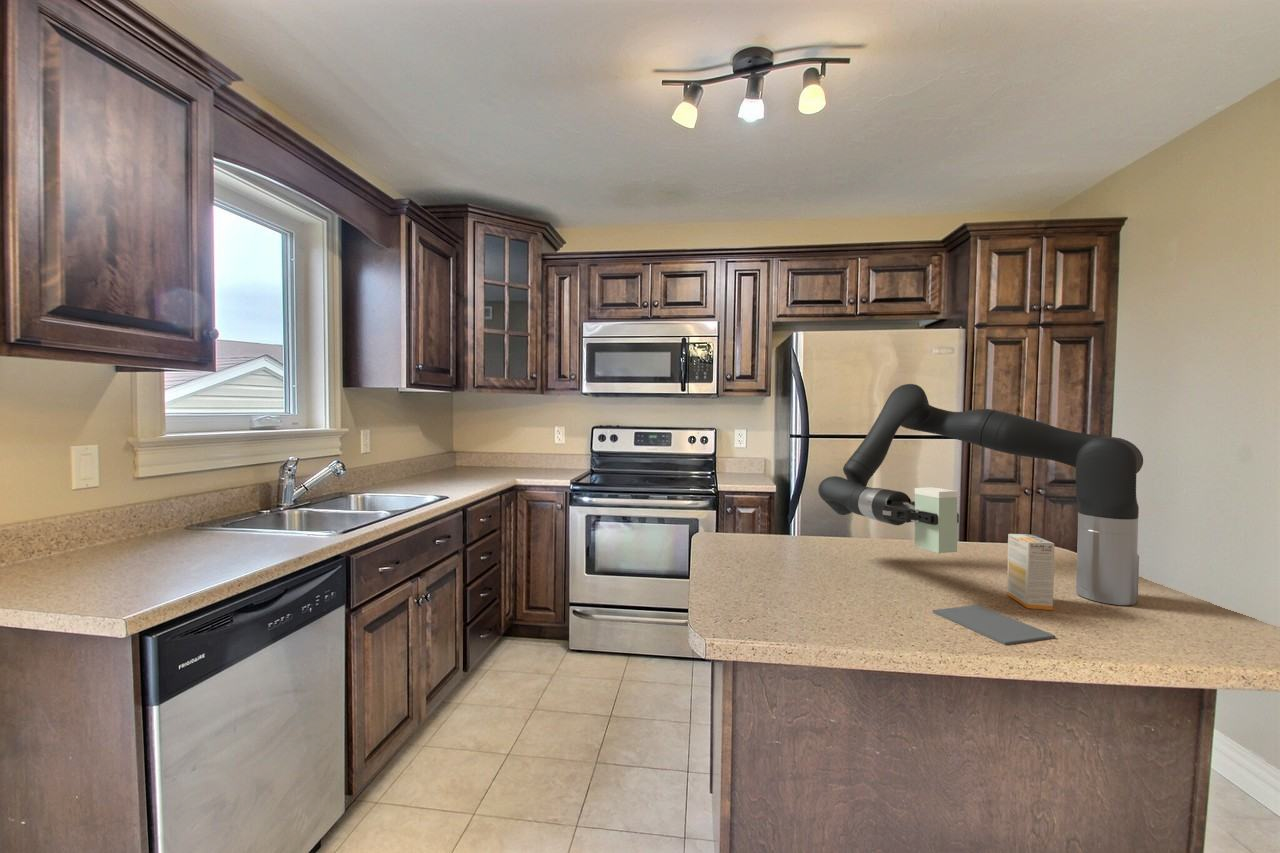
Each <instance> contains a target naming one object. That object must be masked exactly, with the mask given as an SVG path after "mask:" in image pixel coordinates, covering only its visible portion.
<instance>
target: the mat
mask: <svg viewBox="0 0 1280 853" xmlns="http://www.w3.org/2000/svg"><path fill="white" fill-rule="evenodd" d="M932 613H933V614H936V615H938V616H940V617H943V618H945V619H947V620H949V621H951V622H954V623H956V624H958V625H960V626H963V627H964V626H965V627H964V628H966V627H967V629H968V630H971V631H974V632H976V633H977V632H978V634H980V635H982V636H983V637H984V636H985V637H987V638H988V639H990V640H993V641H995V642H997V643H999V644H1002V645H1003V646H1005V645H1007V646H1008V645H1014V644H1021V643H1022V644H1023V643H1027V642H1028V643H1029V642H1034V641H1041V640H1048V639H1049V640H1050V639H1055V638H1056V635H1055V634H1053V633H1050V632H1047V631H1045V630H1042V629H1040V628H1038V627H1035V626H1032V625H1030V624H1028V623H1025V622H1022V621H1020V620H1017V619H1014V618H1012V617H1010V616H1007V615H1005V614H1003V613H999V612H997V611H995V610H992V609H989V608H987V607H985V606H982V605H979V604H975V605H966V606H956V607H948V608H939V609H932Z"/></svg>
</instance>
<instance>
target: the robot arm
mask: <svg viewBox="0 0 1280 853" xmlns="http://www.w3.org/2000/svg"><path fill="white" fill-rule="evenodd" d="M900 427H902V428H905V429H908V430H913V431H916V432H923V433H929V434H934V435H939V436H944V437H948V438H950V439H954V440H958V441H962V442H966V443H970V444H973V445H976V446H979V447H982V448H985V449H989V450H991V451H992V450H993V451H996V452H1000V453H1003V454H1004V453H1005V454H1008V455H1015V456H1020V457H1026V458H1034V459H1043V460H1048V461H1053V462H1057V463H1061V464H1062V465H1063V464H1064V465H1067V466H1070V467H1073V468H1075V497H1076V502H1077V507H1078V508H1077V511H1078V512H1077V541H1076V542H1077V546H1076V547H1077V548H1076V550H1077V551H1076V576H1075V577H1076V581H1075V582H1076V583H1075V584H1076V586H1075V592H1076V594H1077V595H1078V596H1080V597H1082V598H1085V599H1088V600H1091V601H1095V602H1099V603H1104V604H1109V605H1116V606H1133V605H1136V602H1137V601H1139V576H1140V575H1139V574H1140V569H1139V568H1140V554H1138V546H1139V544H1138V543H1139V542H1138V539H1139V536H1138V535H1139V533H1138V532H1139V510H1140V509H1139V508H1140V507H1139V504H1138V498H1137V474H1138V473H1139V472H1140V471H1141V469H1142V467H1143V465H1144V457H1143V456H1144V455H1143V453H1142V451H1141V450H1140V449H1139V448H1138V446H1137V445H1135V444H1134V443H1132V442H1131V441H1128V440H1126V439H1124V438H1122V437H1114V436H1105V435H1103V436H1102V435H1097V434H1091V433H1084V432H1080V431H1079V432H1078V431H1072V430H1069V429H1068V430H1067V429H1063V428H1060V427H1056V426H1053V425H1051V424H1048V423H1044V422H1041V421H1038V420H1035V419H1032V418H1027V417H1024V416H1021V415H1016V414H1014V413H1009V412H1005V411H1000V410H996V409H991V408H977V409H970V410H964V411H951V410H946V409H942V408H939V407H936V406H932V405H931V404H930V403H929V400H928V397H927V394H926V392H925V390H924V389H923V388H922V386H920V385H917V384H914V383H907V384H906V383H905V384H901V385H899V386H898V387H896V388H894V390H893V391H892V392H891V393H890V395H889V396H888V398H887V399H886V401H885V403H884V405H883V408H882V409H881V411H880V413H879V414H878V416H877V418H876V419H875V422H874V423H873V425H872V427H871V428H870V430H869V432H868V433H867V434H866V436H865V438H864V439H863V440H862V442H861V443H860V445H858V447H857V448H856V450H854V452H853V453H852V455H851V456H850V457H849V458H848V459H847V461H846V462H845V464H844V465H843V467H842V470H843V473H844V475H845V477H846V478H845V477H842V476H841V477H840V476H838V475H837V476H835V475H834V476H828V477H826V478H824V479H823V480H822V481H821V482H819V486H818V489H817V491H818V495H819V497H820V498H821V499H822V500H823V501H824V502H825V503H826V504H827V505H828V506H829V507H830V508H831V509H832V510H833V512H835V513H836V514H838V515H839V516H847V515H850V514H852V513H853V514H855V515H858V516H861V517H867V518H869V519H870V520H871V519H872V520H874V521H876V522H877V521H878V522H881V523H884V524H890V525H893V526H902V525H903V524H906V523H915V522H916V523H919V522H923V523H927V524H931V525H937V524H938V515H937V514H935V513H930V512H925V511H921V510H919V509H915V500H912V499H911V498H910V497H909V495H908V494H907V493H905V492H903V491H898V490H893V489H892V490H891V489H887V488H881V487H870V486H867V485H868V483H869V482H870V481H869V480H870V479H871V478H872V477H873V476H874V475H875V473H876V472H877V470H879V468H880V467H881V465H882V464H883V462H884V460H885V459H886V456H887V455H888V452H889V449H890V448H891V447H890V446H891V445H892V444H891V443H892V442H893V439H894V437H895V435H896V434H897V431H898V430H899V429H900ZM959 520H960V515H959V513H958V512H957V524H959V522H960V521H959Z"/></svg>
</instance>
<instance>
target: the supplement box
mask: <svg viewBox="0 0 1280 853" xmlns="http://www.w3.org/2000/svg"><path fill="white" fill-rule="evenodd" d="M1007 536H1008V538H1007V580H1006V581H1007V582H1006V583H1007V584H1006V585H1007V586H1006V596H1008V597H1010V598H1012V600H1014V601H1016V602H1018V603H1019V604H1021V605H1022V606H1023V607H1025V608H1026V609H1032V610H1047V611H1053V610H1054V586H1055V585H1054V580H1055V579H1054V578H1055V577H1054V576H1055V543H1054V542H1052V541H1049V540H1046V539H1044V538H1041V537H1039V536H1036V535H1034V534H1025V533H1023V534H1022V533H1008V535H1007Z"/></svg>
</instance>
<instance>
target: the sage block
mask: <svg viewBox="0 0 1280 853" xmlns="http://www.w3.org/2000/svg"><path fill="white" fill-rule="evenodd" d="M958 498H959V491H958V490H954V489H953V490H952V489H948V488H947V489H946V488H941V487H935V486H934V487H933V486H932V487H929V486H928V487H914V501H915V509H919V510H921V511H925V512H930V513H935V514H937V515H938V524H937V525H931V524H927V523H923V522H919V523H916V522H914V547H916V548H920V549H922V550H926V551H929V552H933V553H936V554H949V553H958V523H957V513H958Z"/></svg>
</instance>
